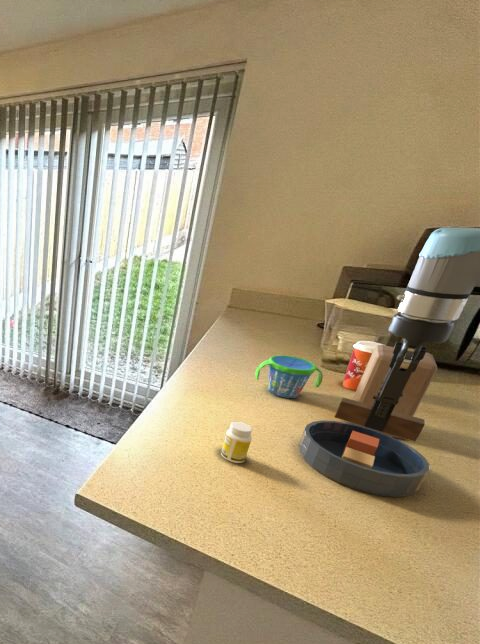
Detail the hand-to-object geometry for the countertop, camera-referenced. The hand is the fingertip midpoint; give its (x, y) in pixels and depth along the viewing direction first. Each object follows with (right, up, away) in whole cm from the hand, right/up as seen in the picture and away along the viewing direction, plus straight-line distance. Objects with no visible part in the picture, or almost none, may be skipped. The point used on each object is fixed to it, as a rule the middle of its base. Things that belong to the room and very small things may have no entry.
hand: (374, 425), depth 80 cm
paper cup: (+35, +4, +39) cm, 52 cm away
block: (+21, -4, +21) cm, 30 cm away
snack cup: (+10, +3, +37) cm, 38 cm away
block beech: (-1, -11, +3) cm, 12 cm away
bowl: (+2, -10, +6) cm, 12 cm away
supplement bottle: (-23, -9, +10) cm, 26 cm away
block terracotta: (+5, -8, +9) cm, 13 cm away
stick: (0, 0, 0) cm, 0 cm away
